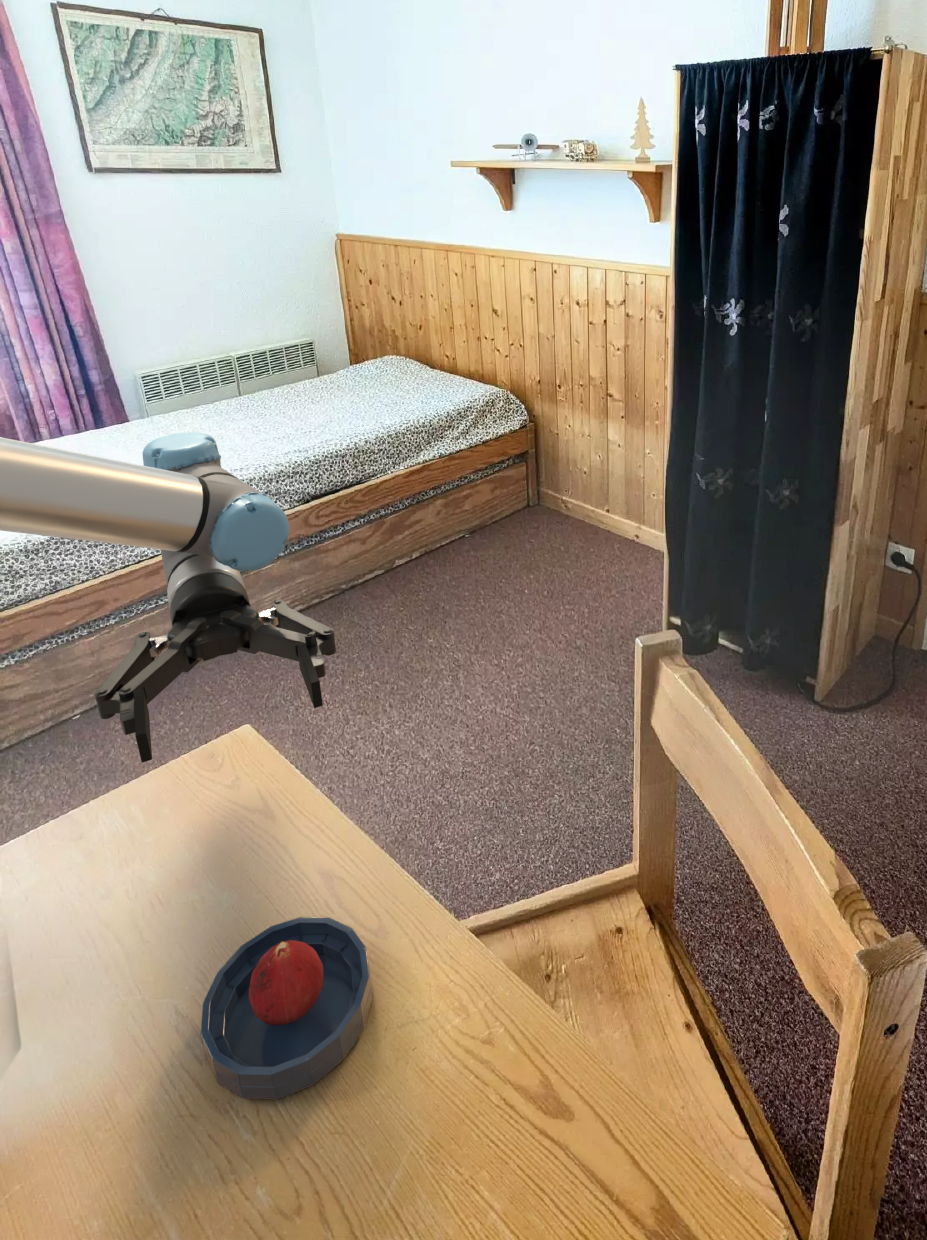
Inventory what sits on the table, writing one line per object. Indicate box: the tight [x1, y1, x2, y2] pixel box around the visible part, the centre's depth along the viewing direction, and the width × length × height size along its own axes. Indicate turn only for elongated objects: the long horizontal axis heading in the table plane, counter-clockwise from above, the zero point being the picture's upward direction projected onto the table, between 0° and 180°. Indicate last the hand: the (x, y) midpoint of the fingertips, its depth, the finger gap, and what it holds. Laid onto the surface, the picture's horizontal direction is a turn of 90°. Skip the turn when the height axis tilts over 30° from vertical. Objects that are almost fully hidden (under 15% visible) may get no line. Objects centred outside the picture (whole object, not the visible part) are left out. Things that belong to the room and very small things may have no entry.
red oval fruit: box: [249, 940, 323, 1025], centre depth 66 cm, size 6×6×8 cm
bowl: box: [200, 916, 374, 1100], centre depth 67 cm, size 13×13×4 cm
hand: (234, 720), depth 67 cm, fingers open, 13 cm apart
